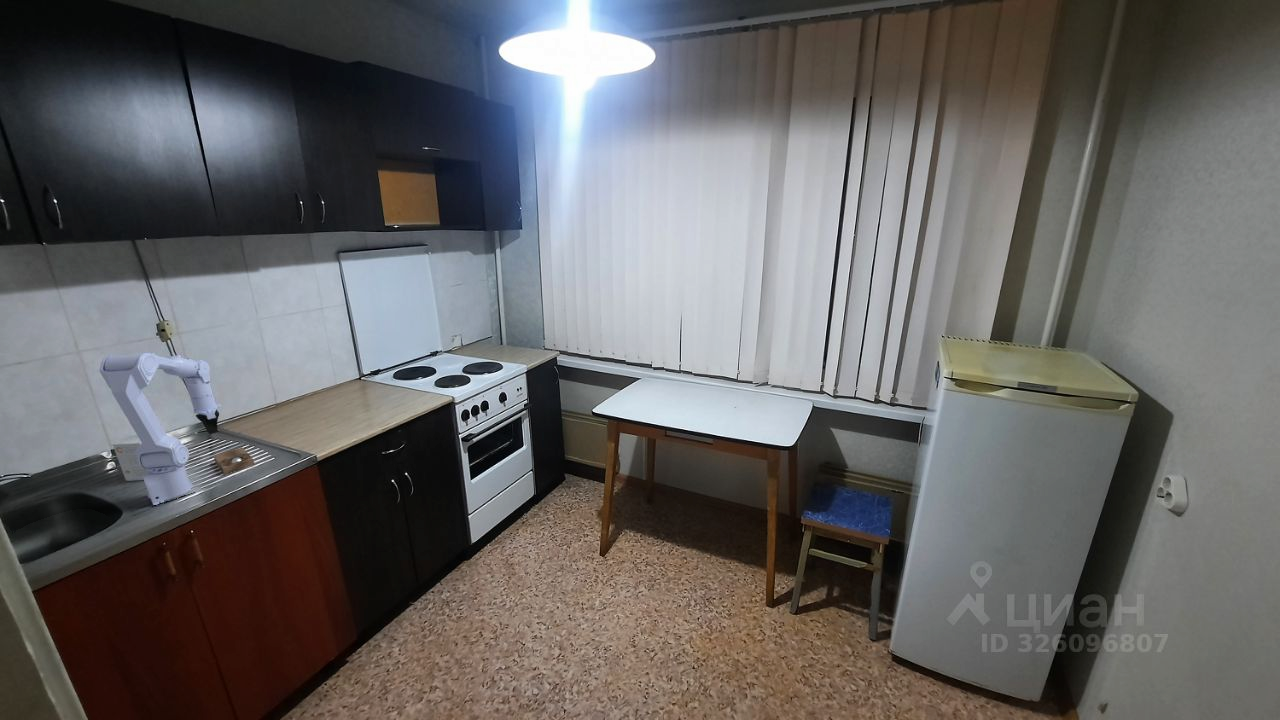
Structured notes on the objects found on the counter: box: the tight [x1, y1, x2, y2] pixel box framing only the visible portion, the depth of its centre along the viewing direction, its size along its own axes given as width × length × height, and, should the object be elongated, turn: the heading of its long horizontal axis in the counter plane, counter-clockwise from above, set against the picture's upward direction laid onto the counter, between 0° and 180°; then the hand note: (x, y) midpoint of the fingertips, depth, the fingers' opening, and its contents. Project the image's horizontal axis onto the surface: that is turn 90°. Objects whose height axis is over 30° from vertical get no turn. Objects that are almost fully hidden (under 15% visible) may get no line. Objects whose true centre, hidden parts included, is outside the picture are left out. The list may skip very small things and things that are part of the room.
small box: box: [111, 434, 148, 482], centre depth 158 cm, size 8×6×13 cm
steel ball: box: [231, 458, 242, 463], centre depth 164 cm, size 3×3×3 cm
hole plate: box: [213, 446, 255, 476], centre depth 166 cm, size 8×13×2 cm, turn 50°
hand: (213, 432), depth 168 cm, fingers closed
